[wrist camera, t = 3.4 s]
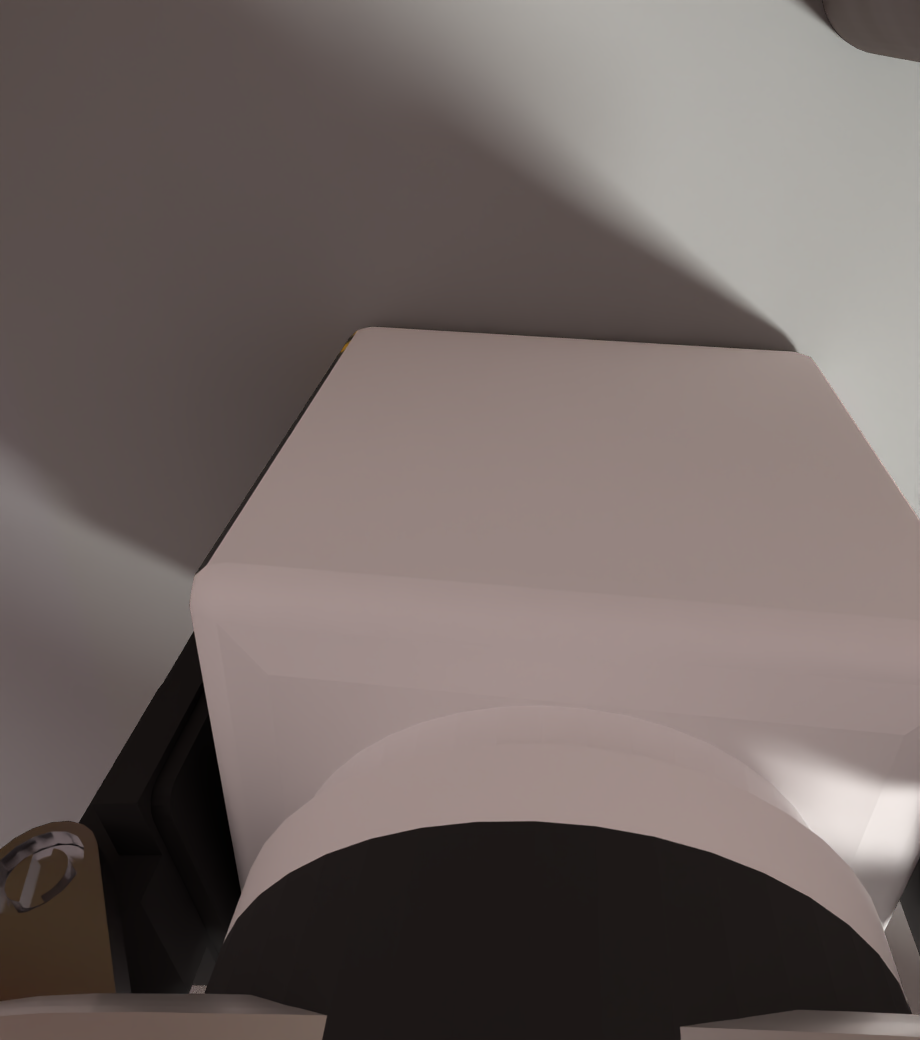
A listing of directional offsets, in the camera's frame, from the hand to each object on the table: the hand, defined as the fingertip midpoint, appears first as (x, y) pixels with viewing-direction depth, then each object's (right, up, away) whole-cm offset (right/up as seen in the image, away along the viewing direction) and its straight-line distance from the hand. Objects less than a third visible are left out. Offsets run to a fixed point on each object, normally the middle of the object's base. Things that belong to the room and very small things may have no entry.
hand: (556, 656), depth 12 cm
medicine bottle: (0, +2, +3) cm, 4 cm away
